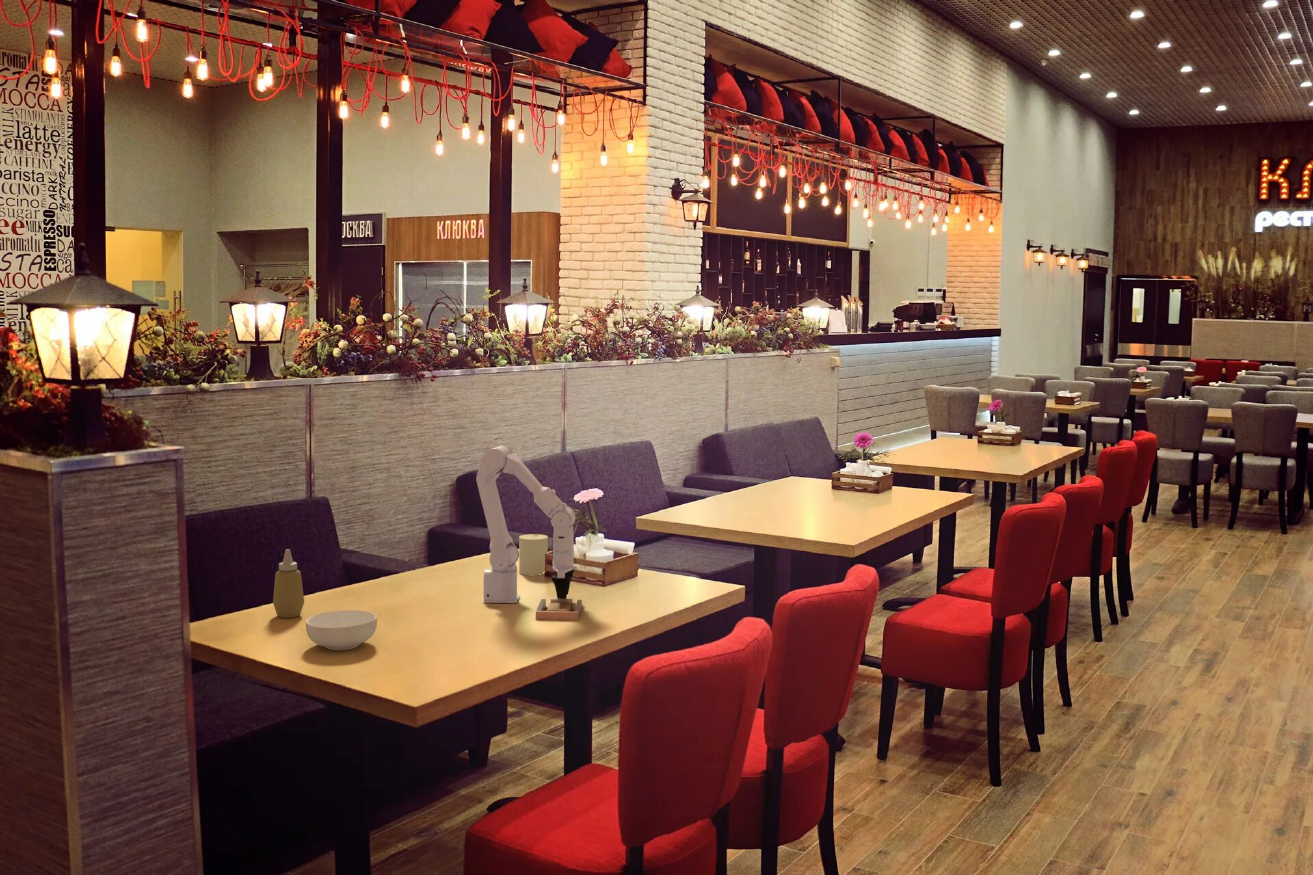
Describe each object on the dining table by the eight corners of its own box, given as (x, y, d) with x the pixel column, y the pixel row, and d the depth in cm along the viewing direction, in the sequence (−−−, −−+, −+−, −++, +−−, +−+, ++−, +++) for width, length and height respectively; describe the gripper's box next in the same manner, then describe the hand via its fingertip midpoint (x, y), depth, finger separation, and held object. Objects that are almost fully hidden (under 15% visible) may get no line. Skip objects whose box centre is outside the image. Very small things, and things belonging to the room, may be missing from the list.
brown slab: (547, 615, 316) (547, 607, 315) (550, 606, 326) (550, 598, 325) (569, 616, 316) (569, 607, 315) (572, 607, 326) (572, 598, 325)
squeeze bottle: (295, 620, 308) (293, 553, 306) (267, 618, 309) (265, 551, 307) (310, 612, 315) (309, 547, 313) (282, 610, 317) (281, 546, 315)
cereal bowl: (350, 632, 297) (350, 605, 296) (391, 645, 286) (391, 616, 286) (292, 646, 284) (291, 618, 283) (332, 660, 273) (332, 630, 273)
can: (550, 569, 372) (550, 533, 371) (544, 576, 363) (545, 538, 362) (522, 568, 373) (522, 532, 372) (515, 575, 364) (515, 537, 363)
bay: (535, 618, 312) (535, 611, 312) (541, 605, 326) (541, 598, 326) (578, 619, 312) (578, 612, 312) (582, 606, 326) (582, 599, 326)
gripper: (575, 555, 321) (575, 604, 323) (579, 545, 335) (579, 591, 337) (549, 555, 321) (549, 603, 323) (555, 545, 336) (554, 591, 337)
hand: (563, 597), depth 330 cm, fingers open, 7 cm apart
